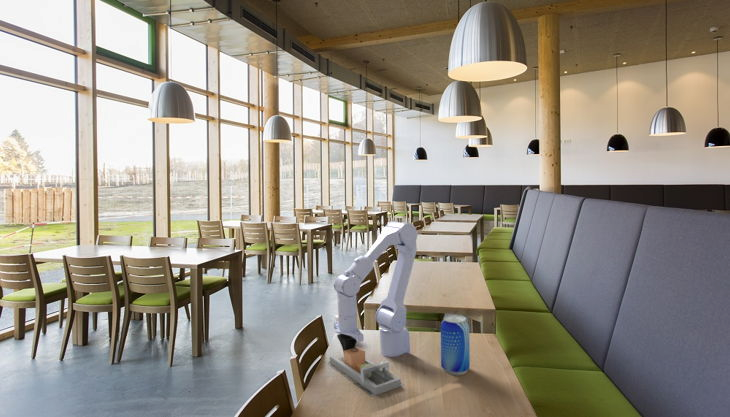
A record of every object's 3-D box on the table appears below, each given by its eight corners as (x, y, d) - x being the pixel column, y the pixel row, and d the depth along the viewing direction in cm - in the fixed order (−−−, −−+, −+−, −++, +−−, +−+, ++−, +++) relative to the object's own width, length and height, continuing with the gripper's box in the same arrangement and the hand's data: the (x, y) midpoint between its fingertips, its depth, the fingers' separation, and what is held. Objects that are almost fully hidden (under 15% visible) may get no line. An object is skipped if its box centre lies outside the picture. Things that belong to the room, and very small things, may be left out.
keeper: (358, 363, 135) (357, 344, 134) (370, 371, 129) (369, 351, 129) (344, 368, 132) (344, 348, 132) (356, 375, 127) (355, 355, 126)
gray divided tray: (354, 357, 142) (354, 348, 142) (404, 388, 121) (404, 377, 121) (324, 366, 136) (324, 356, 136) (371, 401, 115) (371, 389, 115)
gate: (386, 380, 126) (386, 360, 126) (389, 382, 125) (388, 362, 124) (360, 389, 121) (360, 368, 121) (363, 391, 120) (363, 370, 120)
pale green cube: (367, 372, 129) (367, 362, 129) (373, 376, 126) (373, 366, 126) (359, 375, 127) (358, 365, 127) (364, 379, 125) (364, 368, 125)
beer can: (474, 369, 132) (474, 317, 130) (460, 379, 126) (459, 325, 124) (450, 361, 137) (450, 312, 136) (435, 371, 131) (435, 319, 130)
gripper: (324, 310, 137) (326, 352, 139) (348, 323, 125) (349, 369, 126) (344, 306, 141) (345, 347, 142) (368, 318, 129) (370, 362, 130)
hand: (348, 357), depth 135 cm, fingers closed
